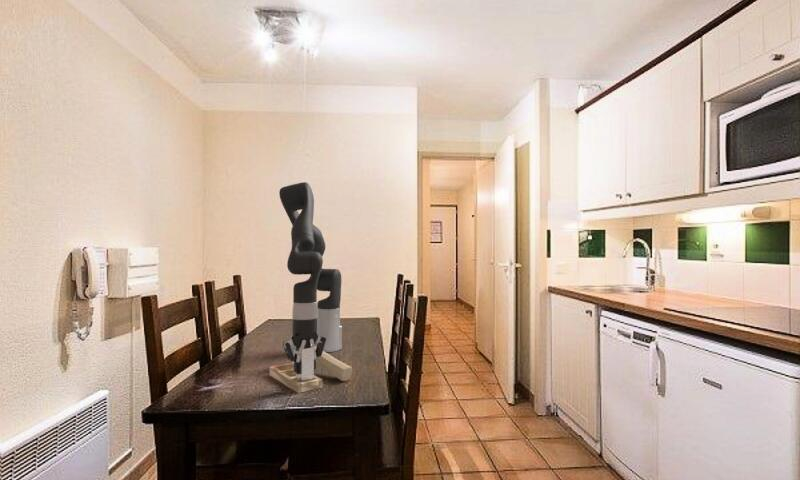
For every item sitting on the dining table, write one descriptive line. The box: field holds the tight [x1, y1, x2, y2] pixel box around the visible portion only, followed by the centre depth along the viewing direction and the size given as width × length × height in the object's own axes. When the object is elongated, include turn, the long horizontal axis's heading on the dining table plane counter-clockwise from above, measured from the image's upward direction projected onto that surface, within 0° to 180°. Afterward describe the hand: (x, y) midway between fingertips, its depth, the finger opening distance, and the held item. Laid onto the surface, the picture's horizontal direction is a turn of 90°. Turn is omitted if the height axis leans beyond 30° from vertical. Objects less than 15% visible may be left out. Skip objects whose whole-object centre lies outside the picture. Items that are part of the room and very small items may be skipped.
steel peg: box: [296, 347, 315, 383], centre depth 138 cm, size 4×4×12 cm
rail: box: [269, 362, 324, 394], centre depth 144 cm, size 8×22×3 cm, turn 38°
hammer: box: [289, 332, 353, 382], centre depth 154 cm, size 16×5×30 cm
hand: (304, 372), depth 138 cm, fingers closed on steel peg, 4 cm apart
